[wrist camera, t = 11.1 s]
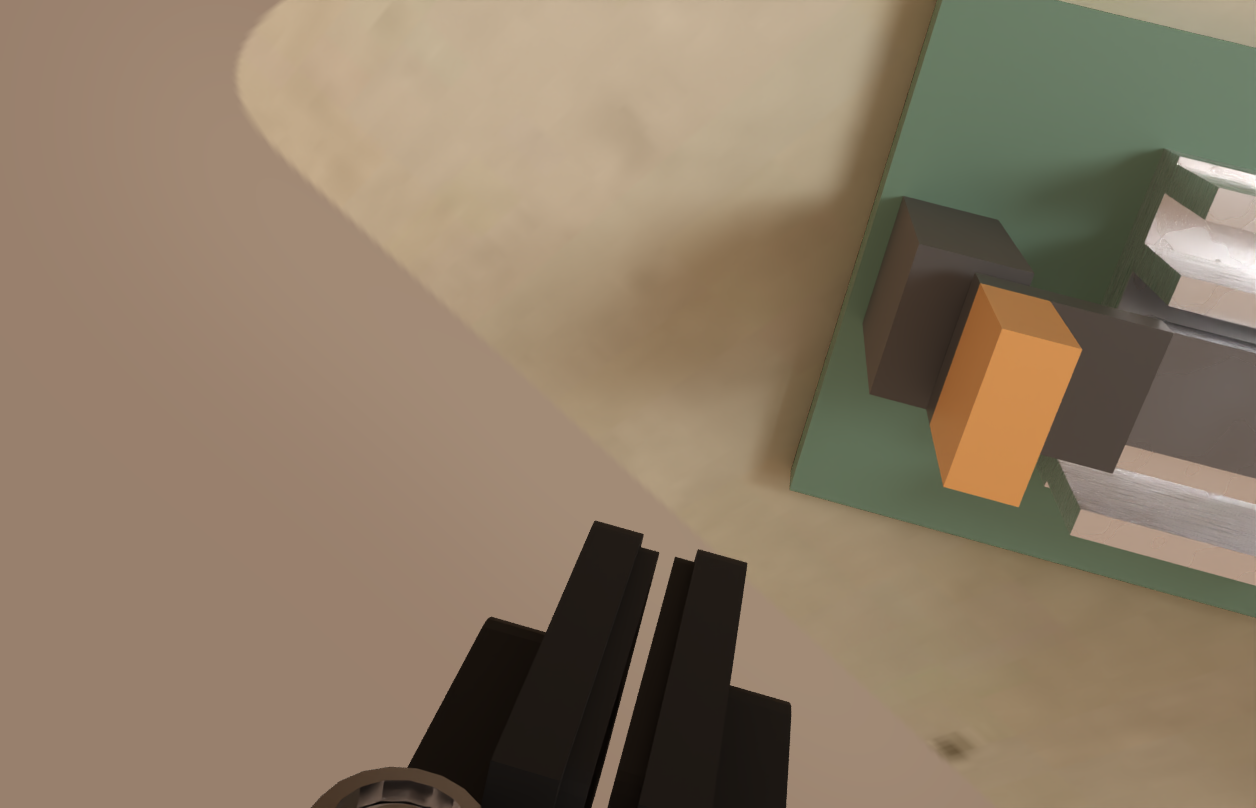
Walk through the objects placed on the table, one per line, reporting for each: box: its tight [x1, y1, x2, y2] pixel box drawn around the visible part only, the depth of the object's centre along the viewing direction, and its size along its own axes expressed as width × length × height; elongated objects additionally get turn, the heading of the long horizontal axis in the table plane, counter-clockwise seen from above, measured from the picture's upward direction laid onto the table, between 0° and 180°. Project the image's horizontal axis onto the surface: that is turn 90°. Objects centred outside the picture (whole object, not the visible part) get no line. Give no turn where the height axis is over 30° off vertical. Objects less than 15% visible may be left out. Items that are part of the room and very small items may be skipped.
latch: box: [926, 272, 1174, 507], centre depth 25 cm, size 4×4×4 cm
